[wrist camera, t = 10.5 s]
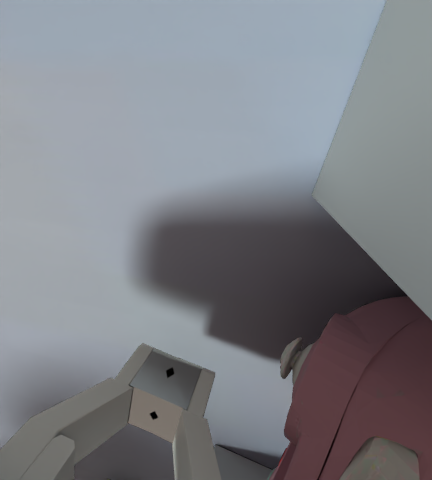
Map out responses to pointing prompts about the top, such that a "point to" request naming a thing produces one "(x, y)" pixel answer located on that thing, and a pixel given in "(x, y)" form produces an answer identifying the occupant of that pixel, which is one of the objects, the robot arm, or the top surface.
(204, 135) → the top surface
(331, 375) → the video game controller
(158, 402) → the robot arm
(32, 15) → the top surface
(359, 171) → the mounted modules
